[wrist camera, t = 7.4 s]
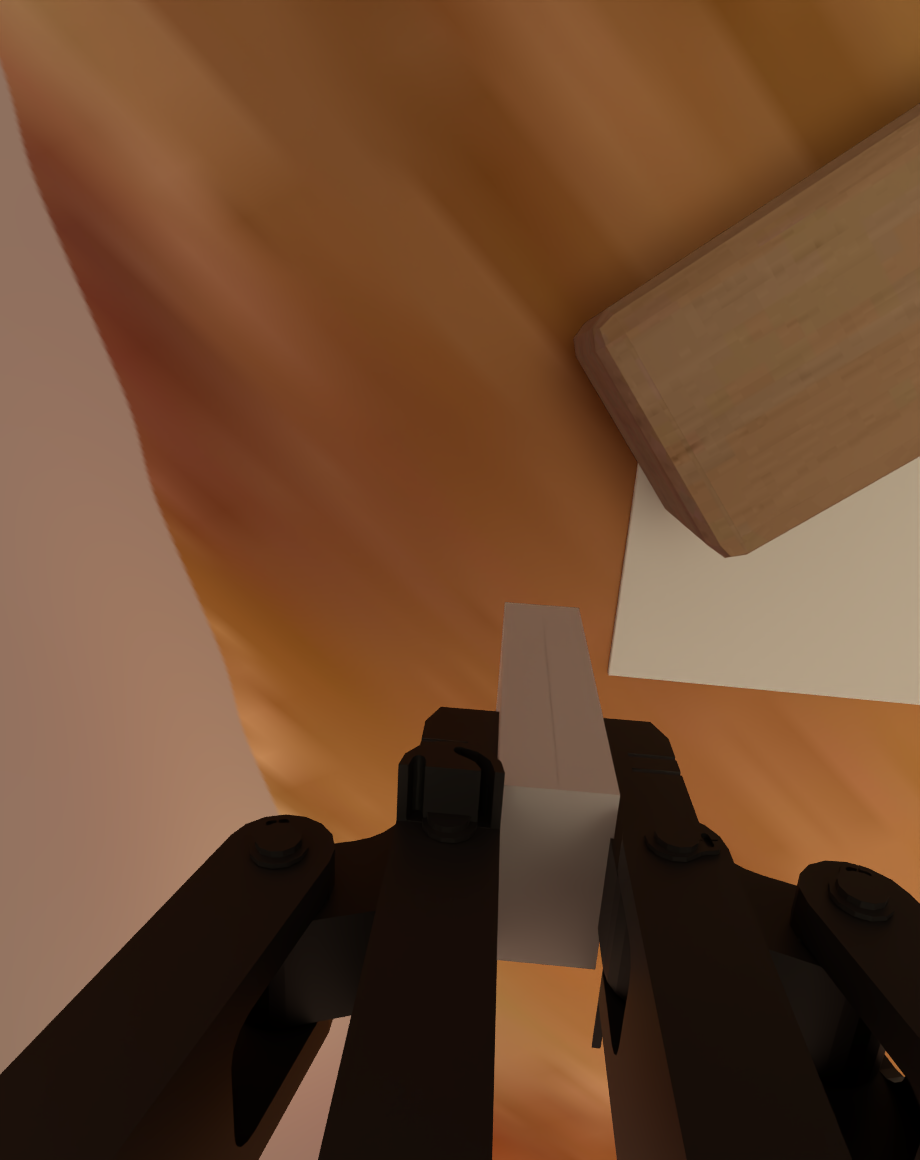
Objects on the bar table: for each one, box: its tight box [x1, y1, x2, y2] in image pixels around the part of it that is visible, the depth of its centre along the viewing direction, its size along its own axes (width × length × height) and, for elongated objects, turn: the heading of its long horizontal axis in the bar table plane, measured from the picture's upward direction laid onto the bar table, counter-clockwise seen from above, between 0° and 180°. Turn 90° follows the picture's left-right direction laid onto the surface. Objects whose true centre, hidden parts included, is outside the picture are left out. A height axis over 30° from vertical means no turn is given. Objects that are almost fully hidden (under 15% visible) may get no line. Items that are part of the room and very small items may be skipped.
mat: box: [608, 457, 920, 705], centre depth 37 cm, size 18×20×1 cm
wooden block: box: [574, 103, 920, 558], centre depth 29 cm, size 10×10×20 cm
